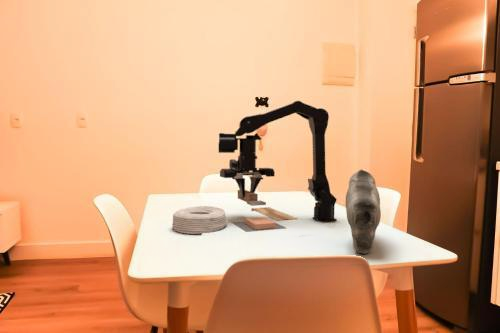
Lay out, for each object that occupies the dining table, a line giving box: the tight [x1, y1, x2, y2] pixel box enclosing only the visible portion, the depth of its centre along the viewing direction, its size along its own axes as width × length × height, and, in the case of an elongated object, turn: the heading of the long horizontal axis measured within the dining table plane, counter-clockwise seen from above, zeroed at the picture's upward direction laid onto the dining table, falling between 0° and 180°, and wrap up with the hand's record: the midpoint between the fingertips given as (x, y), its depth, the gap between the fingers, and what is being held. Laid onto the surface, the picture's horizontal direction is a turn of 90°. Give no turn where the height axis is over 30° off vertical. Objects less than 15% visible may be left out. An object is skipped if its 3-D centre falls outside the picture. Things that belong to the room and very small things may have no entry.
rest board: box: [251, 206, 298, 222], centre depth 139 cm, size 8×24×1 cm, turn 22°
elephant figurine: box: [345, 168, 382, 255], centre depth 100 cm, size 25×9×20 cm, turn 165°
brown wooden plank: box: [237, 189, 267, 206], centre depth 126 cm, size 16×5×3 cm, turn 22°
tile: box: [244, 216, 277, 230], centre depth 118 cm, size 7×2×9 cm
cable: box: [171, 205, 228, 235], centre depth 117 cm, size 18×18×6 cm
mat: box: [231, 220, 287, 233], centre depth 119 cm, size 14×14×1 cm
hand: (247, 197), depth 128 cm, fingers closed on brown wooden plank, 3 cm apart
